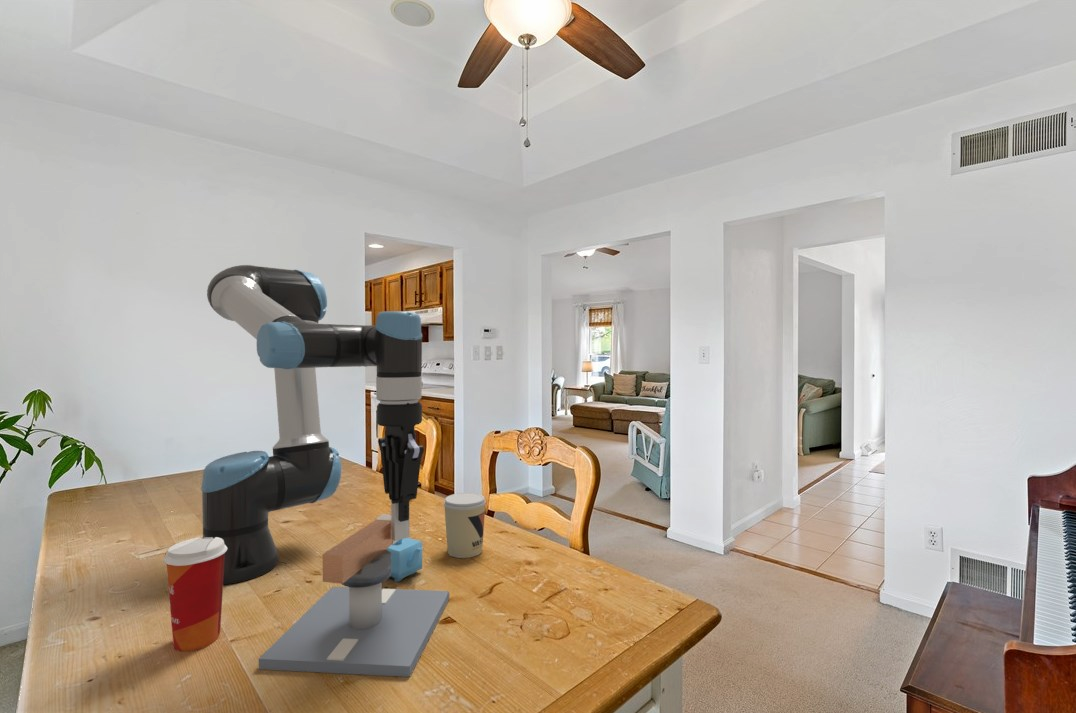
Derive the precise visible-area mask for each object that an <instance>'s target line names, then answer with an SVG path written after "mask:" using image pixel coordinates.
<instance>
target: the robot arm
mask: <svg viewBox="0 0 1076 713" xmlns="http://www.w3.org/2000/svg"><path fill="white" fill-rule="evenodd" d="M206 297H207V298H206V299H207V301H208V303H209V305H210V307H211V309H213V311H214V312H215V313H217V314H218V316H220V317H221V318H223V319H226V320H227V321H231V322H235V323H237V325H239V326H240V327H241V328H242V329H244V330H245V331H246V333H249V335H251V336H252V338H254V339H256V353H257V356H258V357H259V361H260V363H261V364H262V365H263V367H264V366H265V367H266V368H268V369H269V368H270V369H273V370H274V381H275V396H276V408H277V420H278V421H277V422H278V434H279V437H278V438H279V439H278V440H277V442H276V443H275V444H274V445H273V446H272V455H271V456H269V454H268V453H267V452H266V451H265V450H264V451H263V450H250V451H248V452H247V451H242V452H237V453H233V454H229V455H226V456H221V457H219V458H217V459H214V460H212V461H211V462H209V463H208V464H207V465H206V466H205V467H204V469H203V472H202V482H201V487H200V489H201V490H200V491H201V492H202V493H201V494H202V495H201V496H202V500H201V501H202V504H201V505H202V538H201V539H204V538H206V537H213V538H215V537H219V538H222V539H223V540H224V544H225V545H226V546H227V551H226V552H225V558H224V576H223V585H230V584H236V583H240V582H241V583H242V582H244V581H245V582H246V581H249V580H253V579H256V578H258V577H260V576H263V575H264V574H266V573H268V572H270V571H271V570H273V569H274V568H275V567H276V566H277V565H278V559H279V557H278V554H279V552H278V549H277V547H276V544H275V541H274V539H273V535H272V533H271V530H270V528H269V513H271V512H275V511H280V510H284V509H285V510H286V509H290V508H294V507H297V506H301V505H307V504H314V503H317V502H318V501H319V502H320V501H322V500H323V501H324V500H326V499H329V498H330V497H332V496H333V495H334V494H335V492H337V488H338V487H339V486H340V482H341V478H342V460H341V457H340V456H339V455H340V454H339V451H338V449H336V448H335V447H331V446H330V441H329V439H327V438H326V437H325V436H324V435H323V434H322V432H321V420H320V419H321V418H320V408H319V407H320V406H319V394H318V386H317V383H318V382H317V372H316V368H345V367H346V368H348V367H349V368H350V367H353V368H354V367H357V368H358V367H366V368H367V367H376V377H375V378H376V379H375V383H376V385H375V387H376V388H375V390H376V394H375V395H376V396H375V399H376V400H377V401H379V403H377V405H376V423H377V425H378V426H381V427H385V429H384V437H380V438H378V440H377V444H378V447H379V451H380V458H381V459H380V460H381V468H382V477H383V488H384V493H385V494H386V495H388V498H389V500H390V510H391V512H390V513H391V539H393V540H394V541H397V540H401V539H405V538H411V536H410V534H411V533H410V525H411V524H410V523H411V522H410V501H412V500H415V499H417V495H418V489H419V488H418V487H419V478H420V470H421V461H422V457H423V454H424V450H425V448H424V446H423V445H422V444H421V445H418V444H417V442H416V439H417V435H416V431H415V430H416V429H415V427H416V426H417V425H420V424H422V421H423V404H422V402H420V401H419V400H420V399H422V397H423V396H422V393H423V392H422V386H423V385H424V383H423V381H422V369H423V368H422V366H423V365H422V363H423V358H422V357H423V353H422V352H423V336H424V335H423V333H422V321H421V316H420V315H419V314H418V313H417V312H413V311H403V310H402V311H399V310H398V311H397V310H393V311H391V310H389V311H387V310H386V311H380V312H378V313H377V314H376V315H377V316H376V320H375V325H369V324H368V325H363V324H362V325H359V324H356V325H355V324H336V323H335V324H333V323H331V324H328V323H319V321H321V320H323V319H324V317H325V315H326V312H327V307H328V296H327V292H326V288H325V286H324V284H323V282H322V281H321V278H319V277H318V276H317V275H315V274H314V273H311V272H308V271H301V270H299V269H284V268H276V267H267V266H259V265H258V266H257V265H251V264H243V265H235V266H230V267H227V268H225V269H224V270H223V269H222V271H219V272H218V273H217V274H215V275H214V276H213V277H212V279H211V280H210V282H209V283H208V286H207V290H206Z"/></svg>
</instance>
